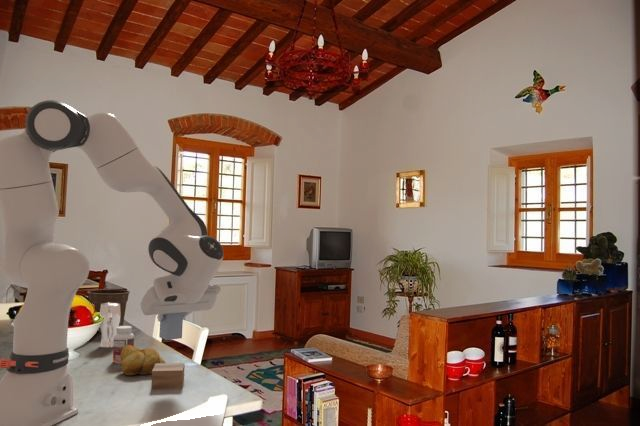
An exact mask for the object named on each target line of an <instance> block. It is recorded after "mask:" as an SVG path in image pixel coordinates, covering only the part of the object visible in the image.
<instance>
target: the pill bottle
mask: <svg viewBox="0 0 640 426" xmlns="http://www.w3.org/2000/svg"><path fill="white" fill-rule="evenodd" d="M132 330H133V326H131V325H123V326H119V327H117V328H116V332H117V334H115V335H114V341H113V347H112V348H113V349H112V361H113V363H114V364H116V365H117V364H119V365H121V362H122V359H121V351H122V348H123V347H124V346H125V345H128V344H129V345H132V346H134V347H135V335H134V333H132Z"/></svg>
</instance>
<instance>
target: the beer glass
mask: <svg viewBox="0 0 640 426" xmlns="http://www.w3.org/2000/svg"><path fill="white" fill-rule="evenodd" d="M100 316H101V317H103V318H104V321H103V322H102V323H101V325H100V328H101V333H100V335H101V336H100V342H99V348H103V349H104V348H105V349H108V348H110V349H112V348H113V341H114V335H115V334H117V332H116V328H117V327H119V323H120V303H103V304H101V307H100Z"/></svg>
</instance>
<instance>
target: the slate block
mask: <svg viewBox="0 0 640 426" xmlns="http://www.w3.org/2000/svg"><path fill="white" fill-rule="evenodd" d="M165 317H166V319H165V320H164V321H160V322H159V338H160V339H163V340H165V341H170V340H179V339H182V338H183V322H184V319H183V312H181V313H169V314H165Z"/></svg>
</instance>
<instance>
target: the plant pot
mask: <svg viewBox="0 0 640 426" xmlns="http://www.w3.org/2000/svg"><path fill="white" fill-rule="evenodd" d="M130 293H131V291H130V290H127V289H115V288H113V289H109V288H106V289H104V288H103V289H102V288H101V289H91V290H88V291H87V294H88V301H89V300H90V301H91V302H92V303H93V304H94V305H95V310H96V311H97V312H100V307H101V304H103V303H120V323H119V326H124V323H125V322H124V321H125V315H126V307H127V302H128V300H129V296H130ZM97 333H100V334H101V328H99V331H98V332H97Z"/></svg>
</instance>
